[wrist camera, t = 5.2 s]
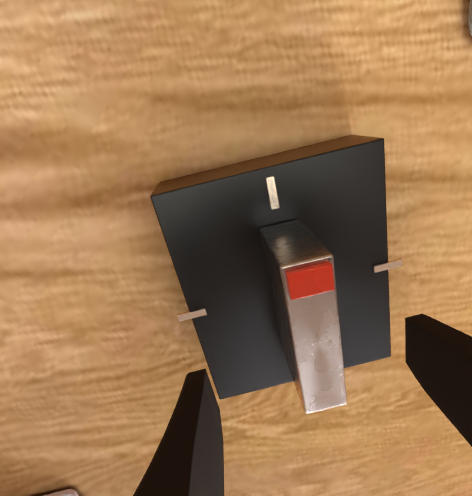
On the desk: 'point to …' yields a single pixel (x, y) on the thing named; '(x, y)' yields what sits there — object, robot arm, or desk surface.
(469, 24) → the smartphone
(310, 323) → the tap handle
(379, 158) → the panel
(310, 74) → the desk surface
